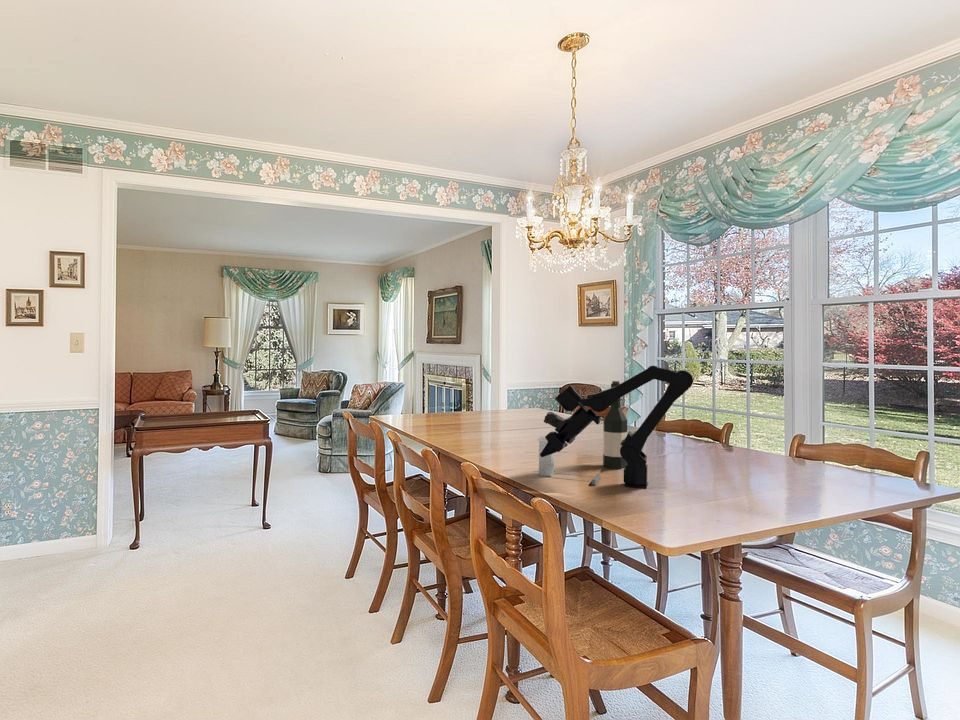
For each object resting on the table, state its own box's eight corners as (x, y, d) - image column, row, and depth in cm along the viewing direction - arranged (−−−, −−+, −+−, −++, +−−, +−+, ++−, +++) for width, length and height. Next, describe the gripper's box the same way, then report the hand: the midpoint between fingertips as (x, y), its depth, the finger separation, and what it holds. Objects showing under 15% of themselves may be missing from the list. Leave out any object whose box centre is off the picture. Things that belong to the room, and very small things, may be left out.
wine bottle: (598, 464, 199) (599, 380, 198) (618, 463, 201) (619, 380, 200) (610, 469, 191) (611, 382, 190) (631, 468, 193) (632, 381, 192)
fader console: (600, 478, 177) (600, 473, 177) (595, 485, 169) (595, 479, 169) (530, 472, 186) (530, 467, 186) (522, 478, 178) (522, 472, 177)
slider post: (554, 473, 180) (555, 436, 180) (551, 476, 176) (551, 439, 176) (541, 472, 182) (542, 436, 182) (538, 475, 178) (538, 438, 178)
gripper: (566, 401, 186) (533, 432, 190) (552, 406, 168) (517, 440, 173) (589, 426, 183) (556, 456, 188) (577, 434, 166) (541, 468, 170)
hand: (542, 454), depth 180 cm, fingers closed on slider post, 4 cm apart
